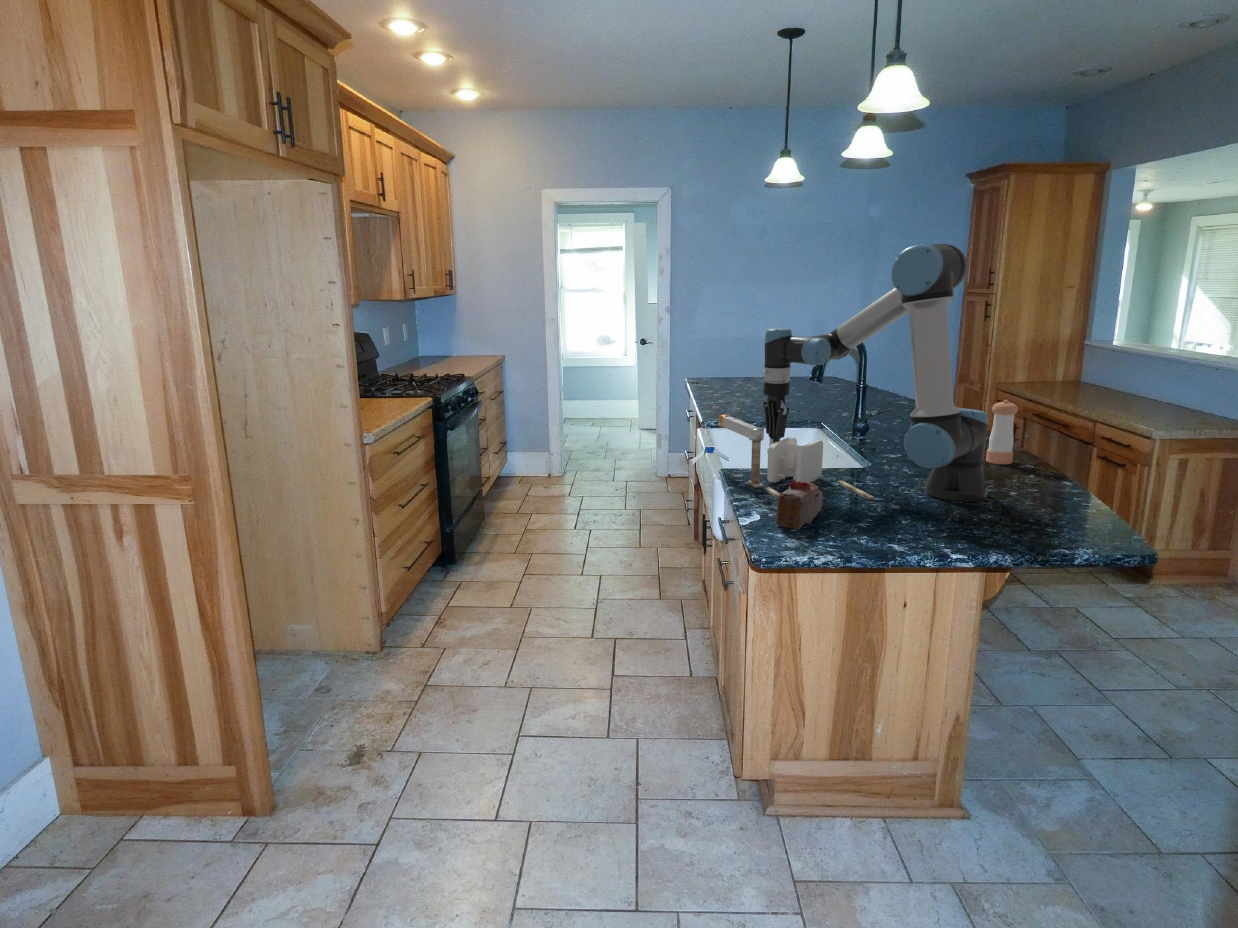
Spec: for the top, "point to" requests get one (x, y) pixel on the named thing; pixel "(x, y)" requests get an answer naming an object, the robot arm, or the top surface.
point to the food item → (798, 504)
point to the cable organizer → (795, 460)
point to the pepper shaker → (1002, 433)
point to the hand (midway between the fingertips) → (774, 458)
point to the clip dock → (756, 483)
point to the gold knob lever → (741, 428)
